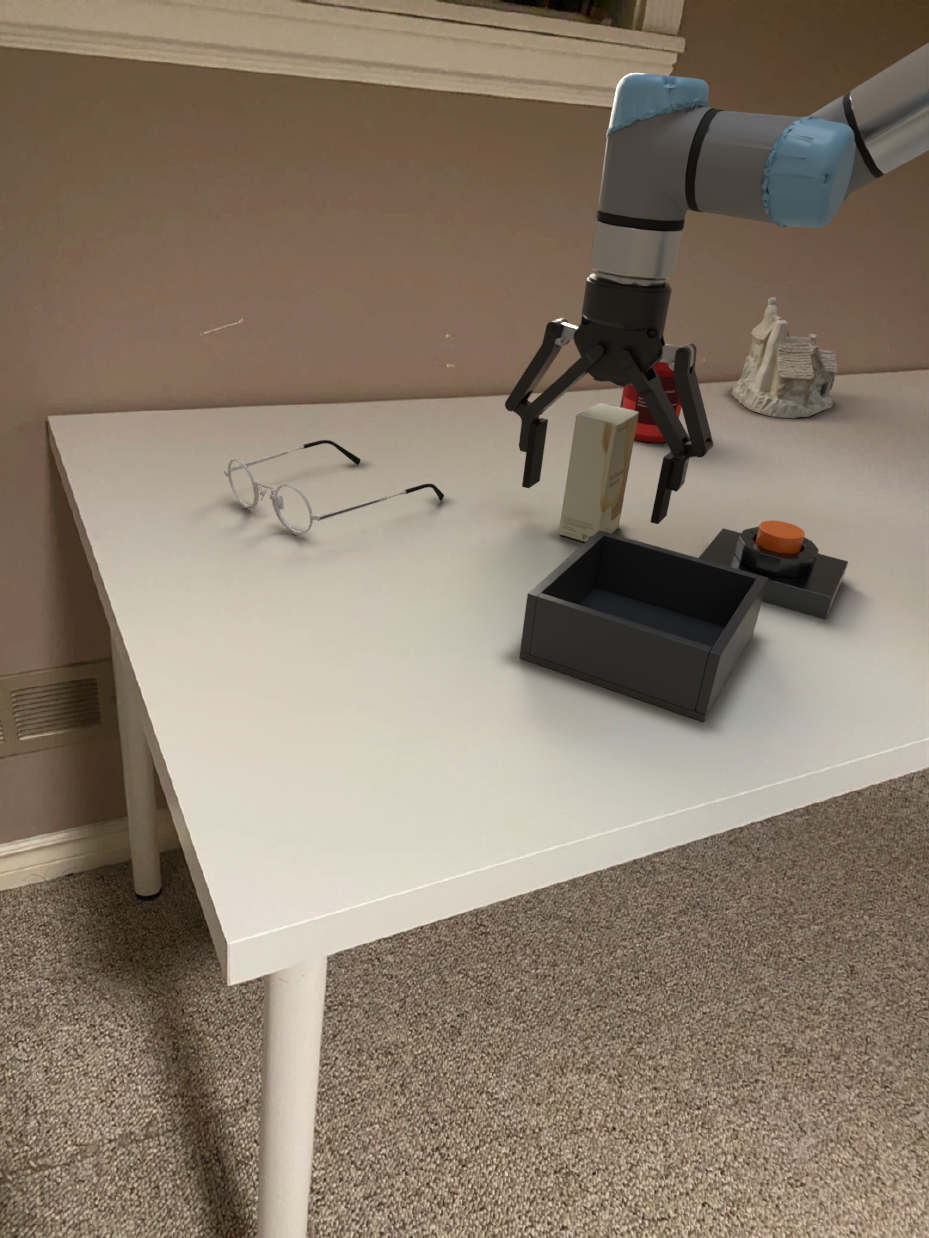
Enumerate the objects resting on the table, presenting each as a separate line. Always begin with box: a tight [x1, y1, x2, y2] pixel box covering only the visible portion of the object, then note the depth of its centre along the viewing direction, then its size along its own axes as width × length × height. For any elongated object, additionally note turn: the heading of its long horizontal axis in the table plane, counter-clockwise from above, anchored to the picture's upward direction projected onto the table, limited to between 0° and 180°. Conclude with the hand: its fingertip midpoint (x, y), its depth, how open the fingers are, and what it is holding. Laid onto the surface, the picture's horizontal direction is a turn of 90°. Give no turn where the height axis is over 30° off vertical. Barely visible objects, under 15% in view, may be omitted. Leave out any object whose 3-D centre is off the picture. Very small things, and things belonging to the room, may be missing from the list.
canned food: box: [619, 343, 682, 444], centre depth 122 cm, size 8×8×11 cm
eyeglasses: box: [223, 439, 445, 536], centre depth 95 cm, size 16×19×5 cm
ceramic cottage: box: [731, 296, 838, 419], centre depth 141 cm, size 16×16×15 cm
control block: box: [698, 526, 849, 620], centre depth 87 cm, size 12×9×4 cm
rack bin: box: [519, 530, 768, 723], centre depth 74 cm, size 15×15×6 cm
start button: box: [755, 520, 806, 554], centre depth 86 cm, size 4×4×2 cm
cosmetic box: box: [558, 402, 639, 543], centre depth 92 cm, size 6×4×12 cm
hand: (592, 501), depth 94 cm, fingers open, 13 cm apart
